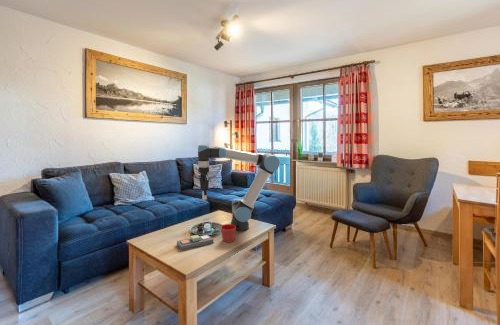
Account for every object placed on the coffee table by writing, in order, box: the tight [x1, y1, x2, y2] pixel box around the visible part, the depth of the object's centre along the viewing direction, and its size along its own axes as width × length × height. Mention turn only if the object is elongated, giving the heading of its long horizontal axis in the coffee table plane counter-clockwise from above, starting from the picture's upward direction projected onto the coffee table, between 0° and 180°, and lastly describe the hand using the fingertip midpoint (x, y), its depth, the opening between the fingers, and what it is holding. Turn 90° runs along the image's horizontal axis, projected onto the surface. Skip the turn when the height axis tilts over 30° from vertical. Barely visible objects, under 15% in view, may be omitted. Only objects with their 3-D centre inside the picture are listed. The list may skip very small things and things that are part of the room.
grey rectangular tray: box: [176, 234, 214, 251], centre depth 173 cm, size 22×10×3 cm, turn 122°
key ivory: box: [200, 234, 210, 240], centre depth 177 cm, size 5×5×2 cm
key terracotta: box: [180, 239, 190, 245], centre depth 169 cm, size 5×5×2 cm
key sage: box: [190, 234, 200, 242], centre depth 173 cm, size 5×5×2 cm
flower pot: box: [220, 223, 236, 243], centre depth 180 cm, size 11×11×10 cm
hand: (204, 199), depth 184 cm, fingers closed
